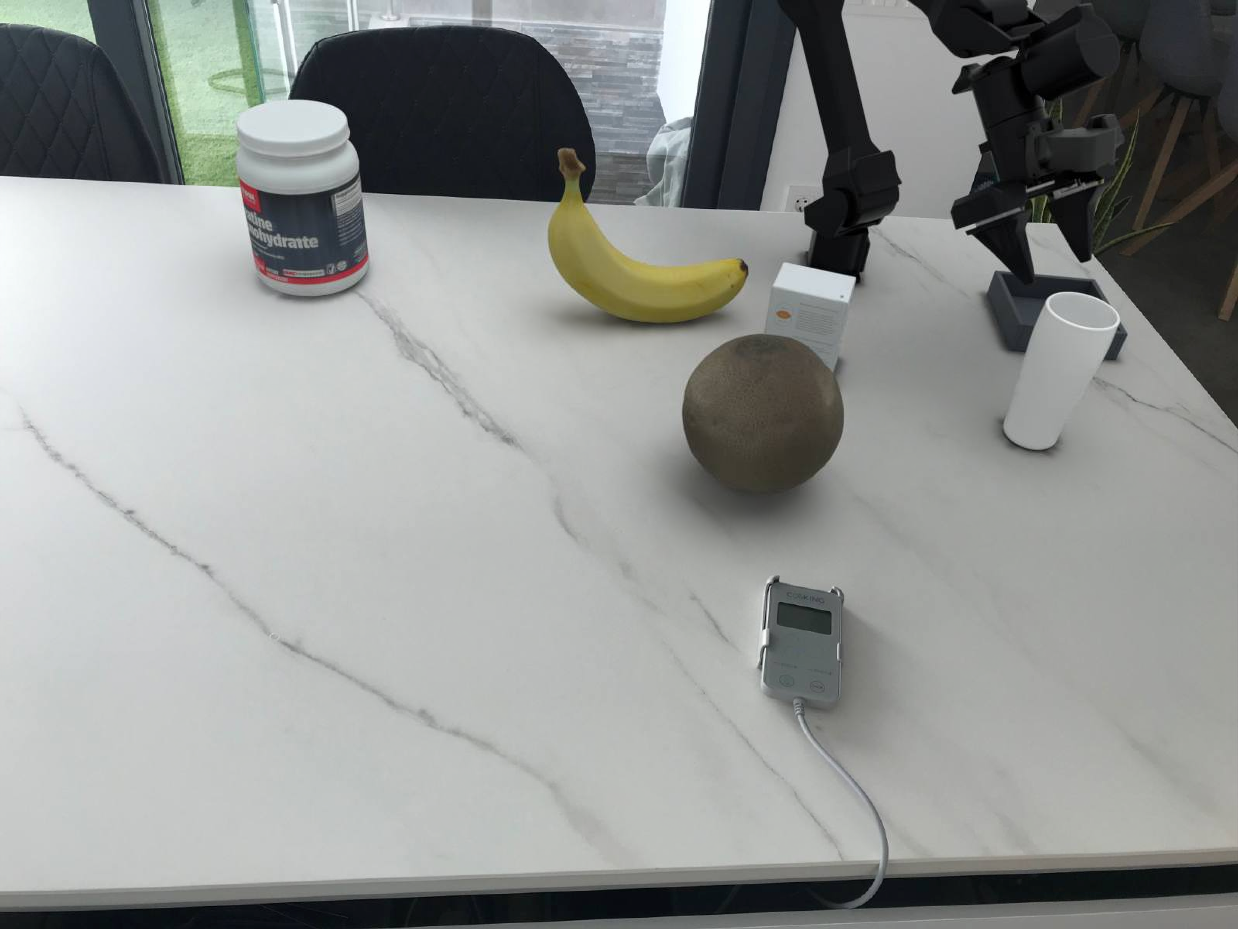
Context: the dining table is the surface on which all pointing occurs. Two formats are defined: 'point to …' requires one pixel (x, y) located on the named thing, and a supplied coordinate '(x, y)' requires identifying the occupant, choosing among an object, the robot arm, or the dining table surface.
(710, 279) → the banana
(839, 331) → the small box
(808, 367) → the cantaloupe
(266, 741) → the dining table surface
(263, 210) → the supplement tub
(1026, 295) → the tray
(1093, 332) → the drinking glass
